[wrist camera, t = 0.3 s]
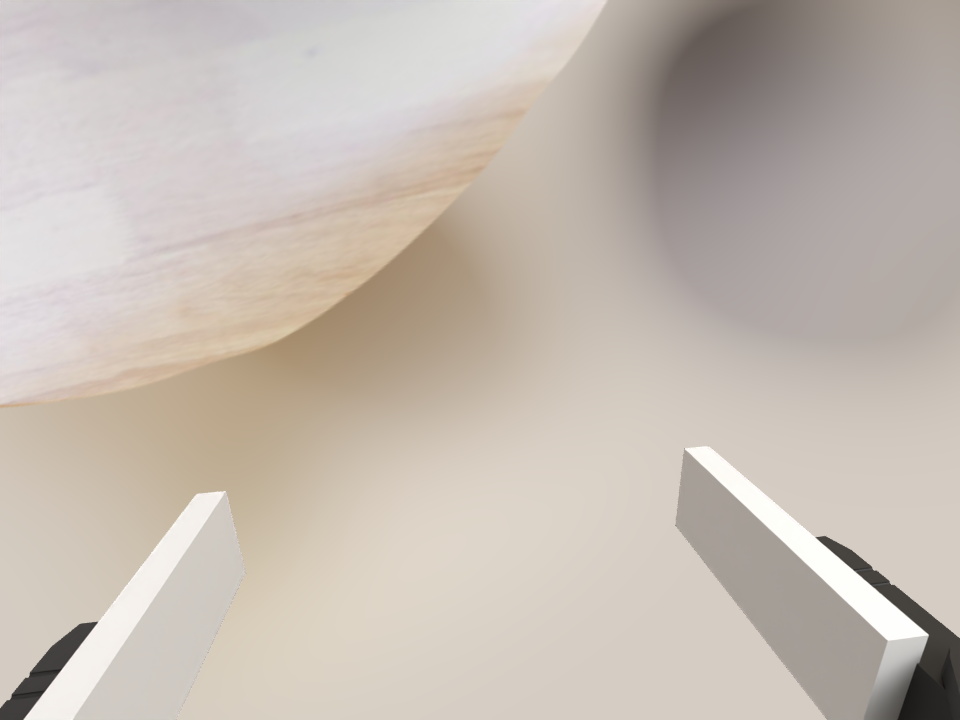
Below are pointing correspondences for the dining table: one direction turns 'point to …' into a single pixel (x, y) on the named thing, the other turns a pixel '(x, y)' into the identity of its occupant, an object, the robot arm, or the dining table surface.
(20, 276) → the dining table surface
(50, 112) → the dining table surface
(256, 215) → the dining table surface
